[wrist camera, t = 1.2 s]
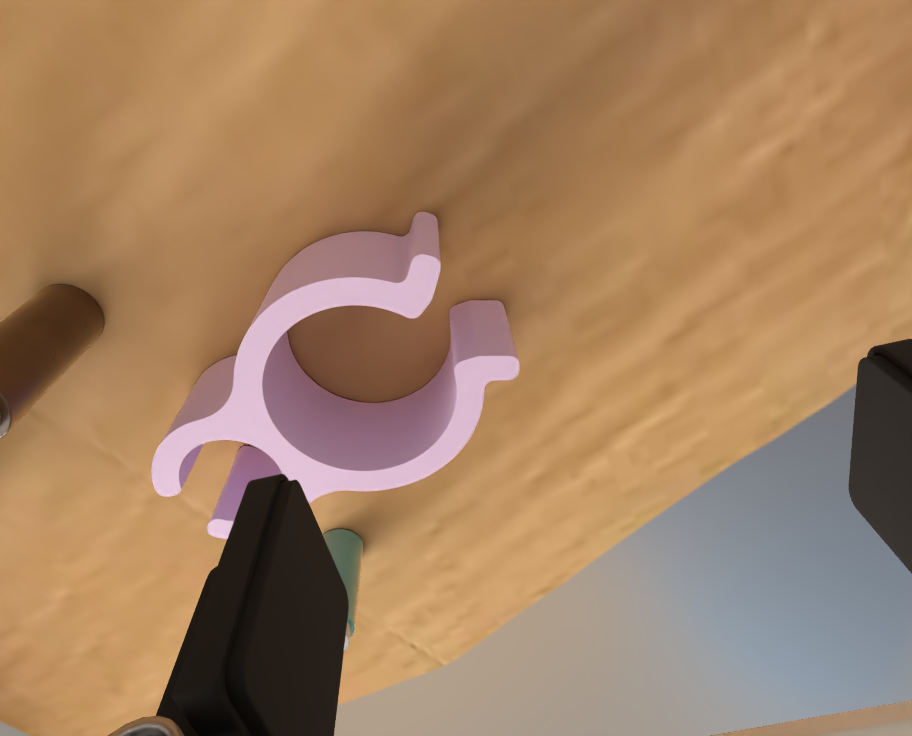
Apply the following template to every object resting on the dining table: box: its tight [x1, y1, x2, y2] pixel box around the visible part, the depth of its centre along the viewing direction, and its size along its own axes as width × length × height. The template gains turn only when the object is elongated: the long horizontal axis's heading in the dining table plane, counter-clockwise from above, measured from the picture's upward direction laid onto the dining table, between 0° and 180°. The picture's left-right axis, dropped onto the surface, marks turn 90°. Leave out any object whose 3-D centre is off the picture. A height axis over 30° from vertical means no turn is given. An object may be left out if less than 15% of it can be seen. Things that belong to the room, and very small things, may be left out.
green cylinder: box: [323, 529, 363, 651], centre depth 44 cm, size 3×3×8 cm
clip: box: [152, 212, 519, 539], centre depth 37 cm, size 20×12×7 cm, turn 126°
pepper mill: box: [0, 284, 104, 438], centre depth 33 cm, size 4×4×13 cm
